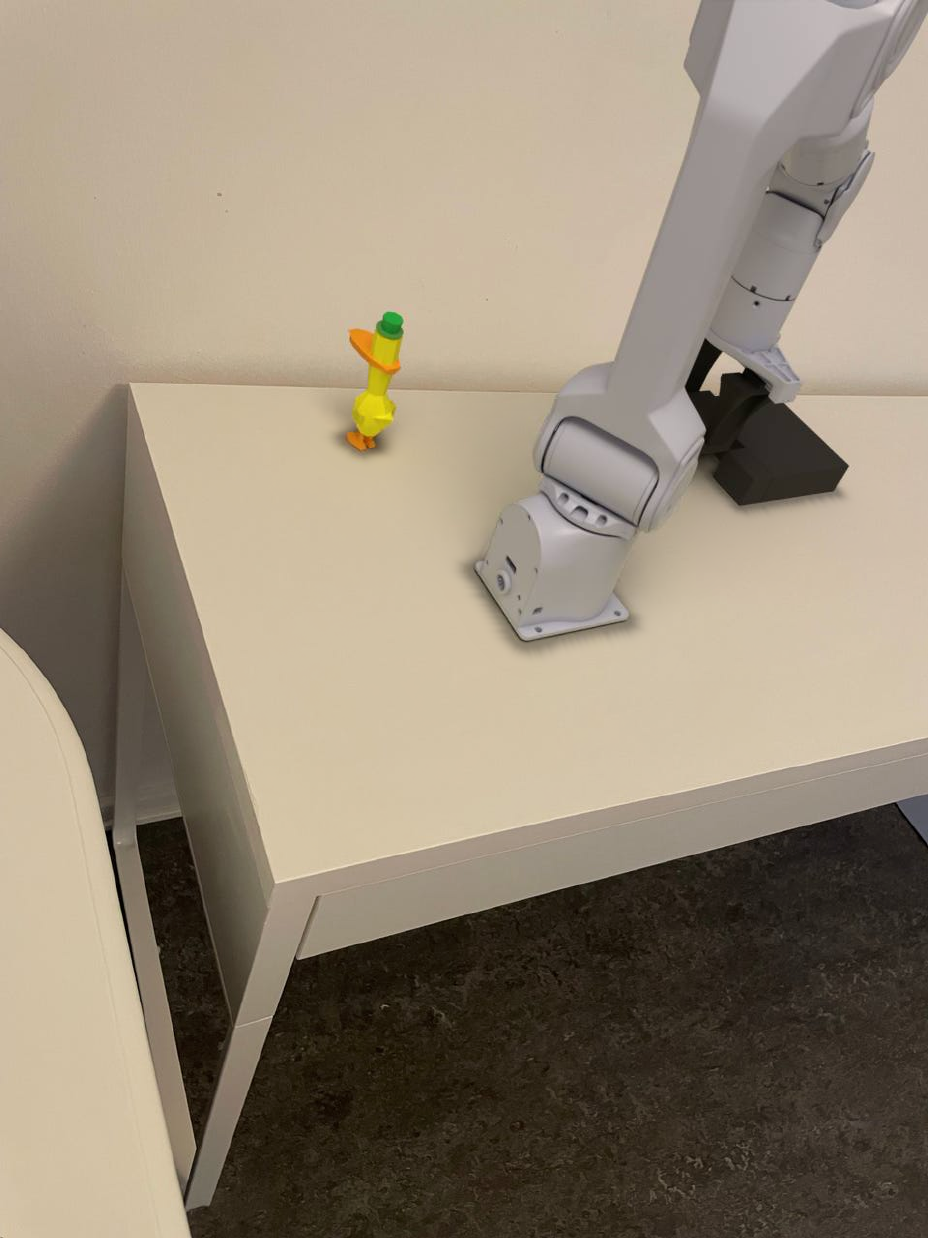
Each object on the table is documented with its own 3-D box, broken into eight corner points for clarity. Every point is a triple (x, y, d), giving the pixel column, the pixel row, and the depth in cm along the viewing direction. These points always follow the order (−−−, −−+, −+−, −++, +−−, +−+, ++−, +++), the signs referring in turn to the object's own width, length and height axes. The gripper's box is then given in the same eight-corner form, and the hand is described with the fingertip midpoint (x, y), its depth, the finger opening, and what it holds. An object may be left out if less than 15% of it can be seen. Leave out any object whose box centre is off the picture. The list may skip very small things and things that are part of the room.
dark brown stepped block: (685, 456, 89) (698, 428, 87) (653, 421, 92) (666, 393, 90) (745, 449, 92) (759, 421, 90) (713, 415, 95) (726, 388, 93)
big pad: (739, 505, 92) (753, 479, 90) (665, 424, 98) (677, 398, 96) (834, 490, 97) (849, 465, 95) (758, 415, 104) (771, 390, 102)
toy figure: (318, 422, 86) (341, 290, 77) (353, 413, 88) (378, 284, 79) (367, 469, 83) (395, 338, 74) (401, 458, 85) (432, 329, 76)
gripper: (859, 330, 79) (780, 470, 88) (747, 236, 87) (685, 373, 96) (792, 334, 76) (717, 479, 85) (682, 236, 84) (625, 378, 93)
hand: (696, 423), depth 90 cm, fingers closed on dark brown stepped block, 5 cm apart
